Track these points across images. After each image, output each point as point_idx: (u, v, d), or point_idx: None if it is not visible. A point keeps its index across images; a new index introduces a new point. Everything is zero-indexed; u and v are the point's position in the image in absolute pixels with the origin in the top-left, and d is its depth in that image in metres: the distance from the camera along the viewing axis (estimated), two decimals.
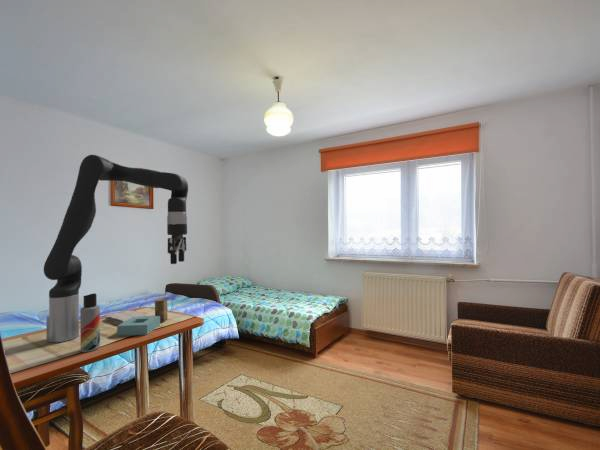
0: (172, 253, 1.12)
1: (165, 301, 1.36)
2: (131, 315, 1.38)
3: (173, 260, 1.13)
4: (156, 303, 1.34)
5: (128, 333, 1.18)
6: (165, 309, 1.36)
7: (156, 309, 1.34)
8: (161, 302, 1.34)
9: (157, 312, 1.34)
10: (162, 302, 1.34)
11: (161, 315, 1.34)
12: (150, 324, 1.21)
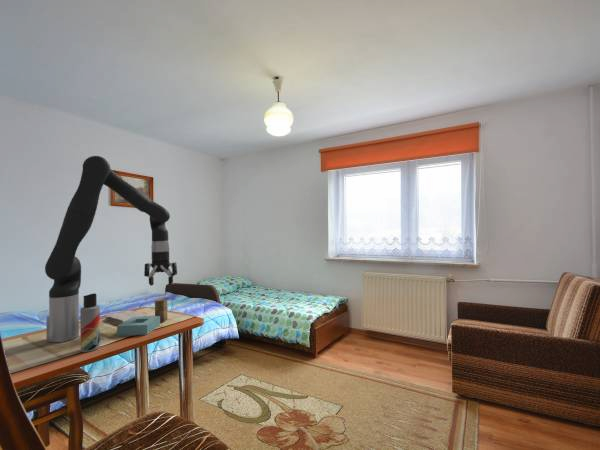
0: None
1: (165, 301, 1.36)
2: (131, 315, 1.38)
3: (172, 281, 1.36)
4: (156, 303, 1.34)
5: (128, 333, 1.18)
6: (165, 309, 1.36)
7: (156, 309, 1.34)
8: (161, 302, 1.34)
9: (157, 312, 1.34)
10: (162, 302, 1.34)
11: (161, 315, 1.34)
12: (150, 324, 1.21)
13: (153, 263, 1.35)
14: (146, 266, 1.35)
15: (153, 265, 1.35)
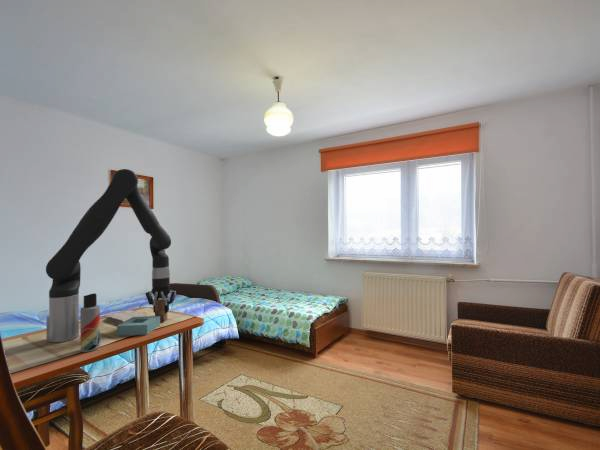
0: (170, 303, 1.36)
1: None
2: (131, 315, 1.38)
3: (168, 309, 1.36)
4: (156, 303, 1.34)
5: (128, 333, 1.18)
6: None
7: (156, 309, 1.34)
8: (161, 302, 1.34)
9: (157, 312, 1.34)
10: (162, 302, 1.34)
11: (161, 315, 1.34)
12: (150, 324, 1.21)
13: (153, 289, 1.35)
14: (147, 295, 1.35)
15: (153, 293, 1.35)
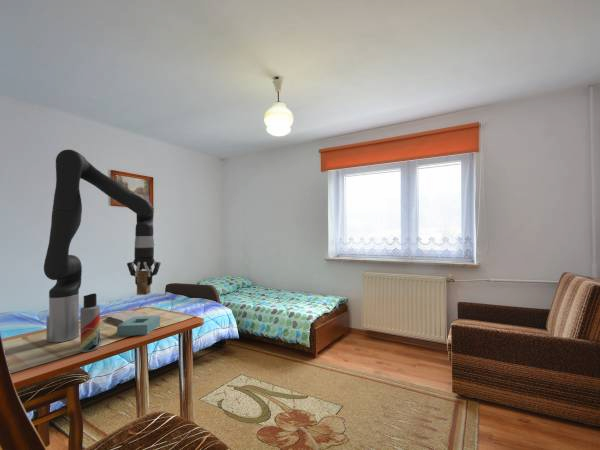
0: None
1: None
2: (131, 315, 1.38)
3: (151, 281, 1.28)
4: (138, 274, 1.25)
5: (128, 333, 1.18)
6: None
7: (138, 280, 1.25)
8: (144, 273, 1.25)
9: (139, 284, 1.25)
10: (145, 273, 1.25)
11: (143, 287, 1.25)
12: (150, 324, 1.21)
13: (135, 259, 1.26)
14: (129, 265, 1.26)
15: (136, 263, 1.26)
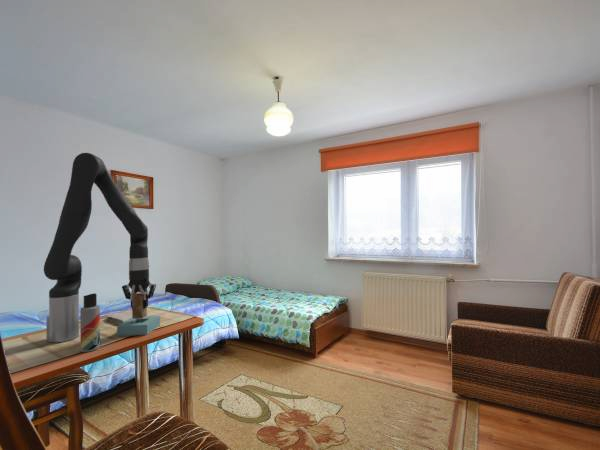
0: (149, 297, 1.24)
1: None
2: (131, 315, 1.38)
3: (147, 304, 1.24)
4: (133, 297, 1.22)
5: (128, 333, 1.18)
6: None
7: (133, 304, 1.22)
8: (139, 296, 1.22)
9: (135, 308, 1.22)
10: (140, 296, 1.22)
11: (139, 311, 1.22)
12: (150, 324, 1.21)
13: (130, 282, 1.23)
14: (124, 288, 1.23)
15: (131, 286, 1.23)
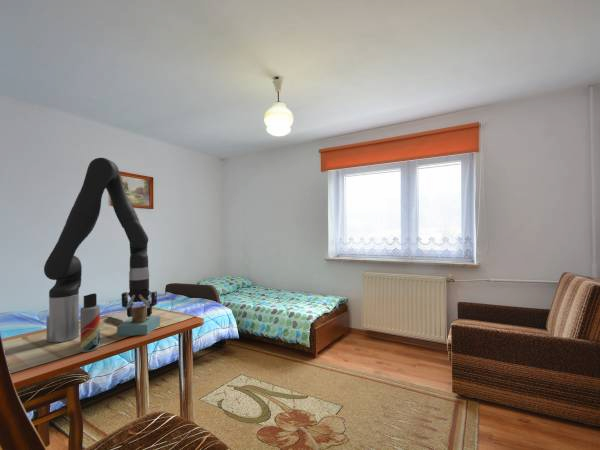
0: (153, 305, 1.24)
1: (144, 308, 1.24)
2: None
3: None
4: (133, 311, 1.22)
5: (128, 333, 1.18)
6: (143, 317, 1.24)
7: (133, 317, 1.22)
8: (139, 309, 1.22)
9: (135, 321, 1.22)
10: (140, 309, 1.22)
11: None
12: (150, 324, 1.21)
13: (131, 292, 1.23)
14: (123, 296, 1.22)
15: (131, 294, 1.23)
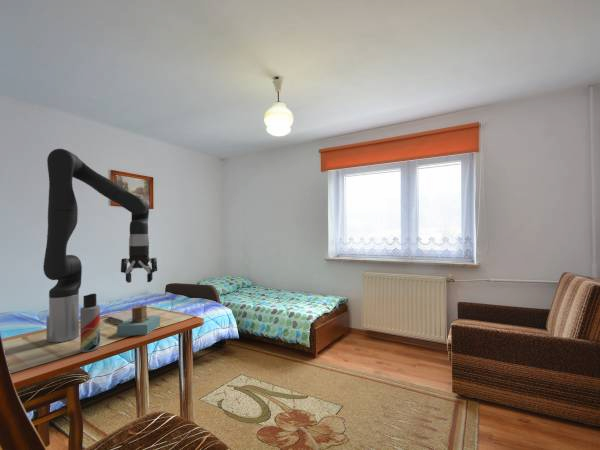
0: (154, 271, 1.25)
1: (144, 308, 1.24)
2: None
3: (151, 278, 1.25)
4: (133, 311, 1.22)
5: (128, 333, 1.18)
6: (143, 317, 1.24)
7: (133, 317, 1.22)
8: (139, 309, 1.22)
9: (135, 321, 1.22)
10: (140, 309, 1.22)
11: None
12: (150, 324, 1.21)
13: (131, 258, 1.24)
14: (123, 261, 1.23)
15: (131, 260, 1.24)
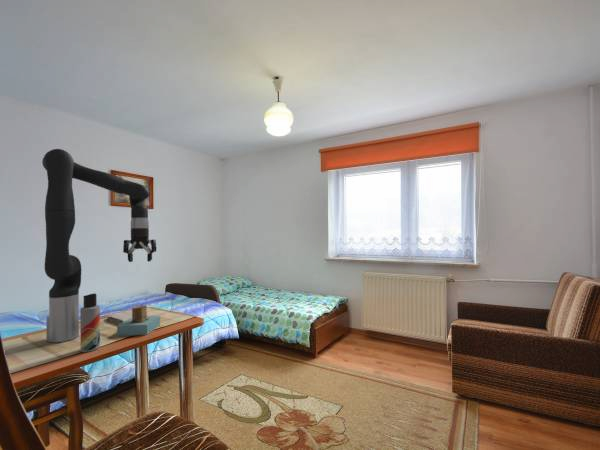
0: None
1: (144, 308, 1.24)
2: None
3: (151, 258, 1.37)
4: (133, 311, 1.22)
5: (128, 333, 1.18)
6: (143, 317, 1.24)
7: (133, 317, 1.22)
8: (139, 309, 1.22)
9: (135, 321, 1.22)
10: (140, 309, 1.22)
11: None
12: (150, 324, 1.21)
13: (132, 240, 1.36)
14: (125, 242, 1.36)
15: (132, 242, 1.36)
